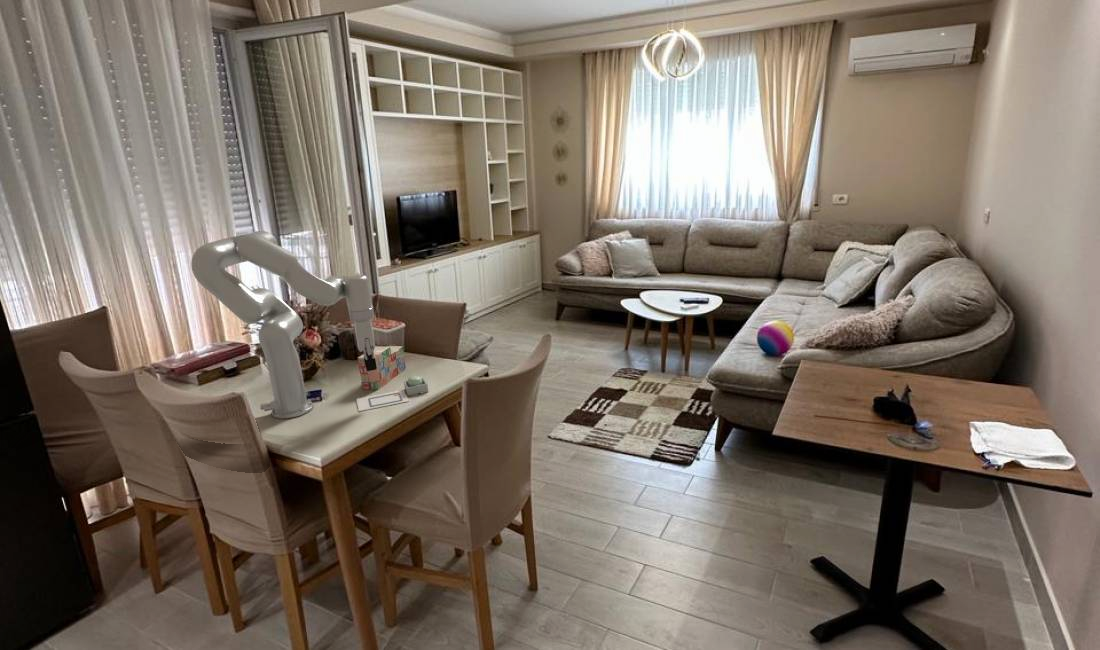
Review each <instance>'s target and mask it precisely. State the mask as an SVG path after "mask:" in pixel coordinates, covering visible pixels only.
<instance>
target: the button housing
mask: <svg viewBox="0 0 1100 650" xmlns="http://www.w3.org/2000/svg"><path fill="white" fill-rule="evenodd" d="M422 382H423V384H422V385H417V386H412V387H409V384H408V379H407V380H404V381H403V385H404V391H405V394H406V396H407V397H411V396H415V395H414V394H416V395H419V394H418V393H421V394H423V393H422V392H426V393H428V392H429V386H428V382H427V381H426V379H425V377H422ZM427 391H428V392H427ZM410 395H411V396H410Z"/></svg>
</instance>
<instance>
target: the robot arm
mask: <svg viewBox="0 0 1100 650" xmlns="http://www.w3.org/2000/svg"><path fill="white" fill-rule="evenodd" d="M245 262H249V263H251V264H253V265H255V266H257V267H259V268H261V269H263V270H265V271H267V272H269V273H271V274H273V275H275V276H277V277H278V278H280V279H282V280H283V281H284V282H285V283H286V285H288V286H289V287H290V288H291V289H292V290H293V291H294V292H296V293H297V294H298V295H300V296H301V297H304V298H305V299H308V300H309V301H311V302H313V303H315V304H318V305H321V306H325V307H327V306H333V305H335V304H336V303H337V302H338V301H340V300H342V299H343V298H345V299H346V305H347V310H348V315H349V321H350V322H353V325H354V326H353V327H354V331H355V332H354V333H355V337H356V338H355V339H356V344H357V348H358V351H359V352H360V353H362V352H363V351H364V352H363V354H364V353H365V357H364V361H365V366H366V369H367V371H371V370H376V369H377V366H376V360H375V357H374V353H373V350H374V349H375V346H376V343H375V336H374V335H375V334H374V328H373V322H372V320H373V319H374V318H375V310H374V304H373V299H372V292H371V287H370V286H371V285H370V281H369V278H368V277H367V276H366V275H365V274H354V275H349V276H345V275H330V276H328V277H326V278H324V279H323V278H320V277H317V276H316V275H314V274H312V273H311V272H309V271H308V270H307V269H306V268H304V266H303V265H302V263H301V261H300V258H299V256H298V255H297V253H296V254H295V253H294V252H291V251H290V250H288V249H285V248H284V247H282V246H280V245H279V243H278V241H277V238H276V237H275V236H274V235H273V234H272V233H271V232H269V231H265V230H257V231H254V232H249V233H244V234H239V235H235V236H230V237H226V238H222V239H218V240H215V241H211V242H208V243H207V242H206V243H204V244H203V245H200V246H199V247H198V248H197V249H196V250H195V251H194V252H193V254H192V258H191V262H190V263H191V271H192V274H193V277H194V278H195V279H196V281H197V282H198V283H199V284H200V285H201V286H202V287H204V289H205V290H207V291H208V292H209V293H211V295H213V296H214V297H215V298H216V299H218V301H219V302H220V303H221V304H222V305H224V306H225V307H226V308H227V309H228V310H230V311H231V312H232V313H233V314H234V315H235V316H236V317H237V318H238V320H240V321H241V322H243V323H246V324H248V325H252V324H257V323H259V322H261V321H263V322H264V323H263V324H262V326H261V327H260V329H259V331H258V341H259V345H260V347H261V350H262V351H263V355H264V357H265V362H266V366H267V370H268V374H269V381H270V384H271V389H272V394H273V395H272V396H273V400H271V401H270V402H266V403H260V404H259V405H260V406H259V407H260V410H261V411H264V412H269V411H271V415H272V417H274V418H275V419H291V418H297V417H299V416H302V415H305V414H307V413H309V412H310V411H312V409H313V408H314V403H313V402H312V401H311V400H308V399H307V393H306V388H305V383H304V378H303V372H302V367H301V362H300V358H299V354H298V351H297V349H296V347H295V344H294V341H295V340H296V338H298V337H299V336H300V335H301V334H302V332H303V328H304V323H303V320H302V319H301V317H300V316H299V315H298V313H297V312H296V311H294V310H293V308H291V307H290V305H288V304H287V303H286V302H285V301H284V300H283V299H282V298H281V297H280V296H279V295H278V294H276V293H275V292H274V291H271V290H270V289H267V288H264V287H263V288H262V287H257V288H254V289H251V288H249V287H248V286H247V285H246V284H245V283H244V282H243V281H242V280H240V278H238V277H236V276H235V275H234V274H232V273H229V272H228V271H227V270H226V268H229V267H231V266H234V265H237V264H241V263H245ZM365 348H367V350H365ZM366 352H367V353H366Z"/></svg>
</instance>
